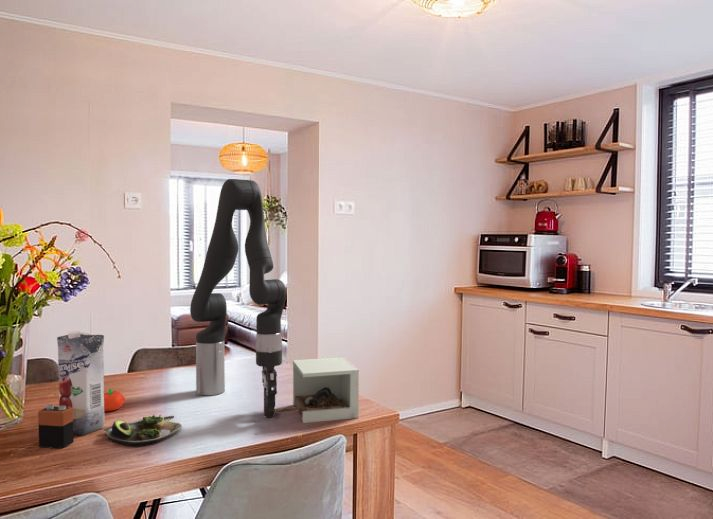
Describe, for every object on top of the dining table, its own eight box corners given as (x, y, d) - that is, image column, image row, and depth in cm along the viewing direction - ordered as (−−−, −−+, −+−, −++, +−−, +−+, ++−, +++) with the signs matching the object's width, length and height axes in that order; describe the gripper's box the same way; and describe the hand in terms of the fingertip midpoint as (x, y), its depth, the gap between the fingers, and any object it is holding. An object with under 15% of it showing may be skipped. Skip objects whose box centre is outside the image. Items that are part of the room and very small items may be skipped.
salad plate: (153, 417, 158) (153, 402, 158) (198, 427, 150) (198, 411, 149) (93, 439, 141) (93, 421, 141) (140, 452, 133) (140, 433, 132)
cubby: (303, 422, 153) (303, 373, 152) (293, 404, 169) (293, 360, 169) (358, 417, 157) (358, 369, 156) (343, 400, 174) (343, 357, 173)
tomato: (107, 416, 159) (103, 395, 159) (95, 410, 165) (92, 390, 164) (130, 408, 165) (127, 387, 164) (119, 402, 170) (116, 382, 169)
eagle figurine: (333, 411, 159) (337, 397, 168) (319, 392, 158) (324, 379, 167) (312, 423, 161) (317, 408, 170) (298, 404, 160) (304, 390, 168)
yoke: (266, 423, 151) (266, 399, 151) (261, 408, 165) (261, 385, 165) (344, 416, 158) (344, 392, 157) (333, 402, 171) (333, 380, 171)
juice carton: (83, 421, 153) (82, 326, 152) (109, 427, 148) (108, 329, 147) (54, 431, 145) (52, 331, 144) (80, 438, 140) (78, 334, 139)
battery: (50, 440, 139) (49, 402, 138) (74, 442, 138) (73, 403, 137) (37, 447, 134) (37, 407, 134) (62, 449, 133) (62, 408, 133)
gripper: (253, 344, 164) (254, 398, 164) (258, 353, 150) (259, 412, 150) (278, 343, 166) (279, 396, 166) (285, 352, 152) (286, 409, 152)
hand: (269, 403), depth 158 cm, fingers open, 8 cm apart
